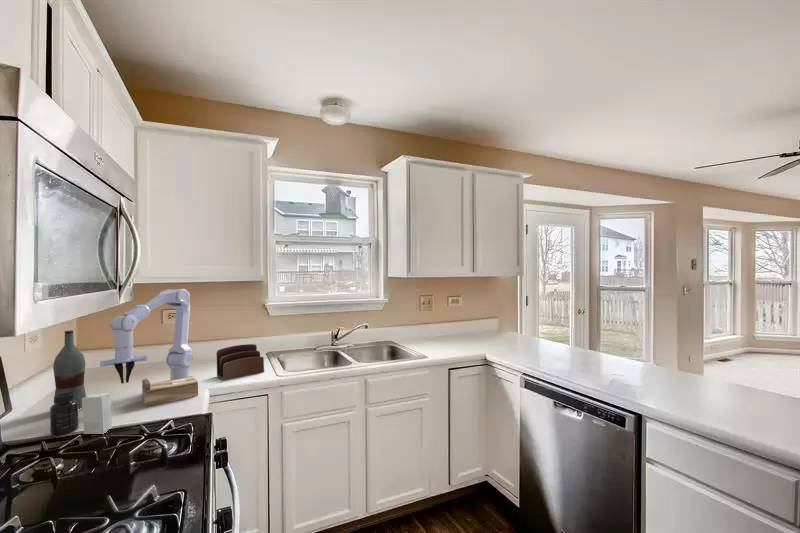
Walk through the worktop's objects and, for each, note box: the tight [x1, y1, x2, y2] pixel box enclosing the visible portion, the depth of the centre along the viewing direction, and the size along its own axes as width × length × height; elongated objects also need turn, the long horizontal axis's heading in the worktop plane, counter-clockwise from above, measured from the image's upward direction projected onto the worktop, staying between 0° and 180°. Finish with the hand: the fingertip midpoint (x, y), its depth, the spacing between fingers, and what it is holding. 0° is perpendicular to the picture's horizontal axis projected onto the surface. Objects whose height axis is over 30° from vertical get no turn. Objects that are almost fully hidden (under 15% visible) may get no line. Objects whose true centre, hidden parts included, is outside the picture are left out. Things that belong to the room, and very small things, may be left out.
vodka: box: [52, 329, 87, 410], centre depth 143 cm, size 9×9×30 cm
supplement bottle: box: [49, 392, 79, 436], centre depth 122 cm, size 7×7×12 cm
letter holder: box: [215, 343, 265, 381], centre depth 187 cm, size 10×20×14 cm, turn 133°
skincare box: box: [81, 392, 113, 435], centre depth 119 cm, size 6×4×12 cm
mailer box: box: [141, 382, 199, 407], centre depth 153 cm, size 11×18×5 cm, turn 131°
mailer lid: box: [141, 375, 199, 393], centre depth 153 cm, size 11×18×3 cm, turn 131°
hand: (124, 382), depth 144 cm, fingers closed
